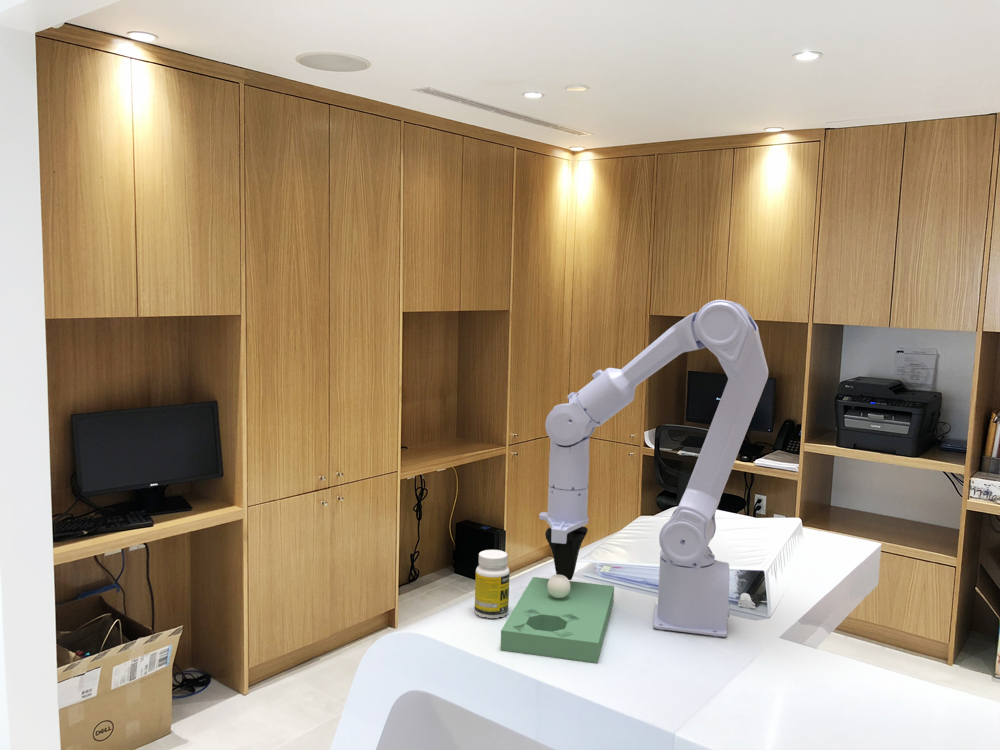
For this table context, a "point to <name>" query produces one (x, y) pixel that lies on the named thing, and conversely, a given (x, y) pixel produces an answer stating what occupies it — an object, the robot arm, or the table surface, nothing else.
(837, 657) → the table surface
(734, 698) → the table surface
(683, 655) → the table surface
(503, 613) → the supplement bottle
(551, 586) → the ball
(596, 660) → the green
